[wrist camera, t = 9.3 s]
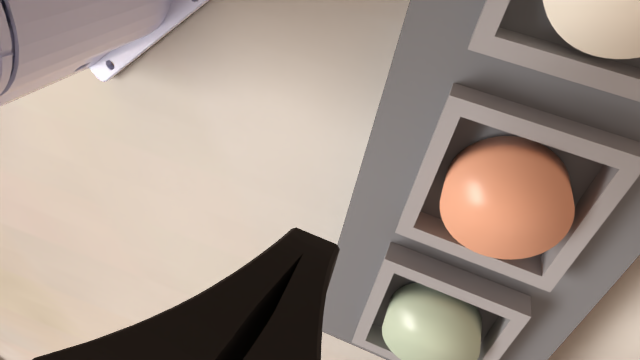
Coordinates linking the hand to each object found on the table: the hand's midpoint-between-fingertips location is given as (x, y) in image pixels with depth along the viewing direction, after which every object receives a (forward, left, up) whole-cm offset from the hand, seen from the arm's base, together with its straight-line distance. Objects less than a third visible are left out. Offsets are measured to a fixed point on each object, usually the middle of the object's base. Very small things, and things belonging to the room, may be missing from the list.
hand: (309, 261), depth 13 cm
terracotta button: (+4, -4, -7) cm, 9 cm away
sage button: (-2, -9, -7) cm, 12 cm away
